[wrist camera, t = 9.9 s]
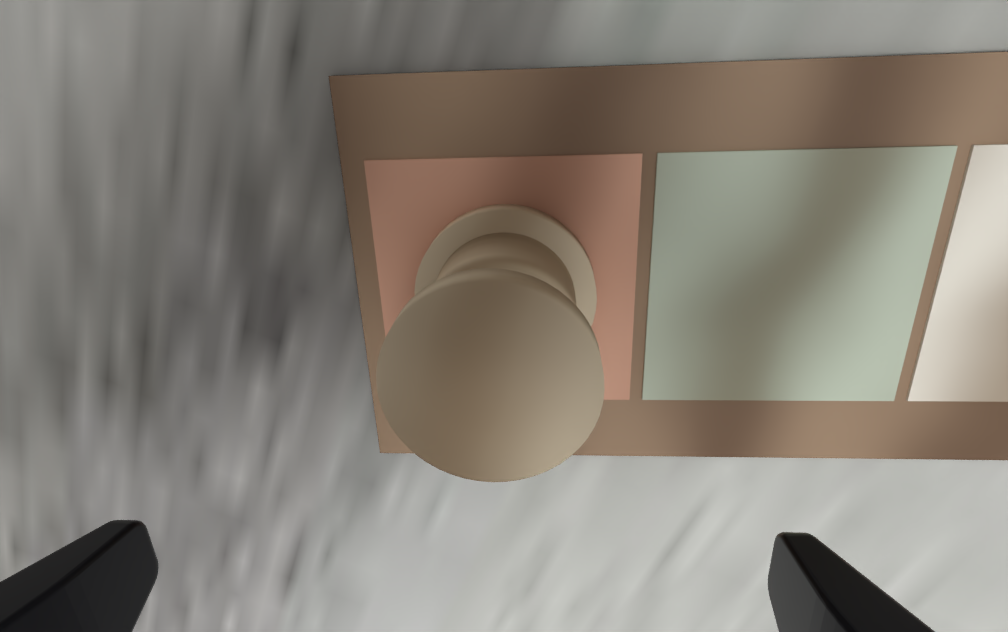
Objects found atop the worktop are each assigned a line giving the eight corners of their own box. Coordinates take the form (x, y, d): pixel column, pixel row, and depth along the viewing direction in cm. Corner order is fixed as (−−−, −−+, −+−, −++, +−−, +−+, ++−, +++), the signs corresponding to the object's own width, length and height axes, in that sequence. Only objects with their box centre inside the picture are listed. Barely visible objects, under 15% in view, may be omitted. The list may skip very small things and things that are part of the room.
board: (1360, 38, 14) (1375, 38, 14) (1163, 457, 19) (1172, 463, 19) (331, 75, 16) (327, 76, 16) (381, 449, 21) (379, 454, 21)
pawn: (597, 202, 17) (619, 270, 12) (592, 368, 19) (610, 491, 14) (412, 205, 17) (351, 272, 12) (426, 368, 19) (381, 487, 14)
